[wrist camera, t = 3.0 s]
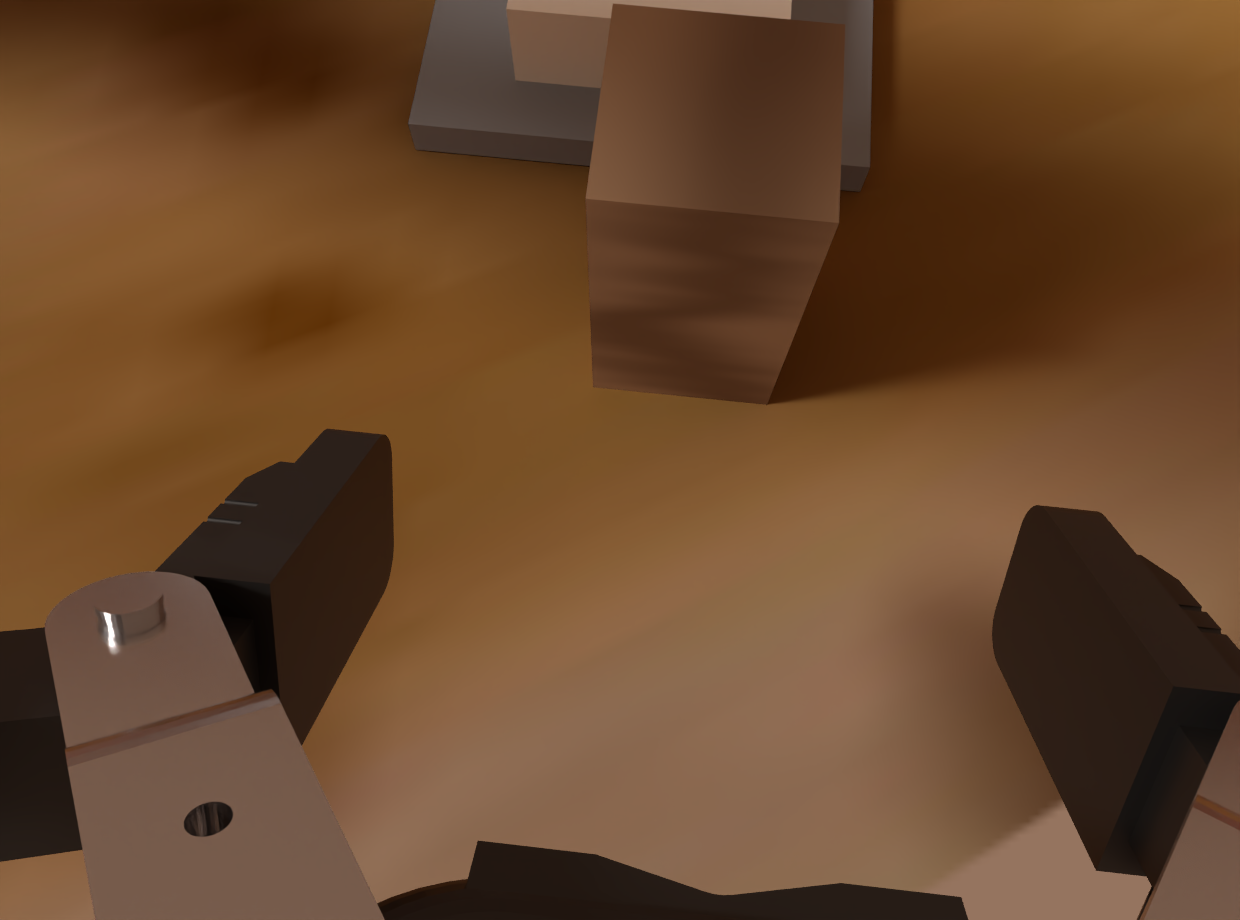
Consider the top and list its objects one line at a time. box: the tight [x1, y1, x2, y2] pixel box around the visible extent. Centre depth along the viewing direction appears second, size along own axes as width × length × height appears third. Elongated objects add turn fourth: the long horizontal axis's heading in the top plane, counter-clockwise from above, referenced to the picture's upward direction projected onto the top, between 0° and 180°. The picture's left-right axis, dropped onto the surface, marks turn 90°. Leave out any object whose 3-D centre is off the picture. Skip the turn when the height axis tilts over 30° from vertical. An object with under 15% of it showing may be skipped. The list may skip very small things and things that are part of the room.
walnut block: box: [586, 3, 845, 405], centre depth 24 cm, size 5×5×9 cm
